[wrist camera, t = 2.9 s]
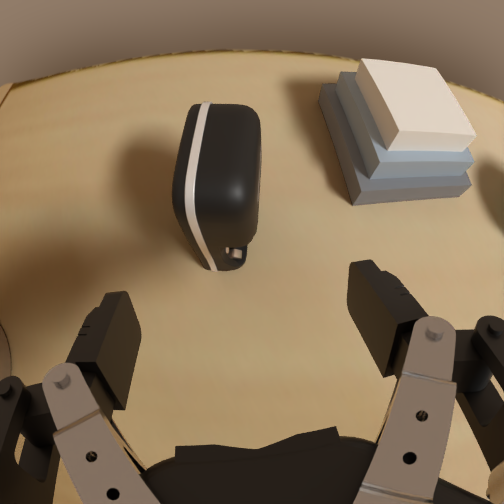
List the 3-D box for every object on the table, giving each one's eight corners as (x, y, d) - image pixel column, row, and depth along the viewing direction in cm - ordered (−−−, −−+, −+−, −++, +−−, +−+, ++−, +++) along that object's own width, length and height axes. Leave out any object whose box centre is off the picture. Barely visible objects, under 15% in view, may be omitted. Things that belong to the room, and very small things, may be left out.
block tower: (352, 205, 25) (384, 154, 18) (318, 100, 29) (331, 43, 22) (458, 196, 26) (501, 157, 19) (415, 104, 29) (441, 58, 22)
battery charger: (254, 277, 23) (258, 210, 12) (203, 273, 23) (164, 206, 13) (259, 192, 25) (265, 89, 15) (213, 190, 26) (191, 88, 15)
